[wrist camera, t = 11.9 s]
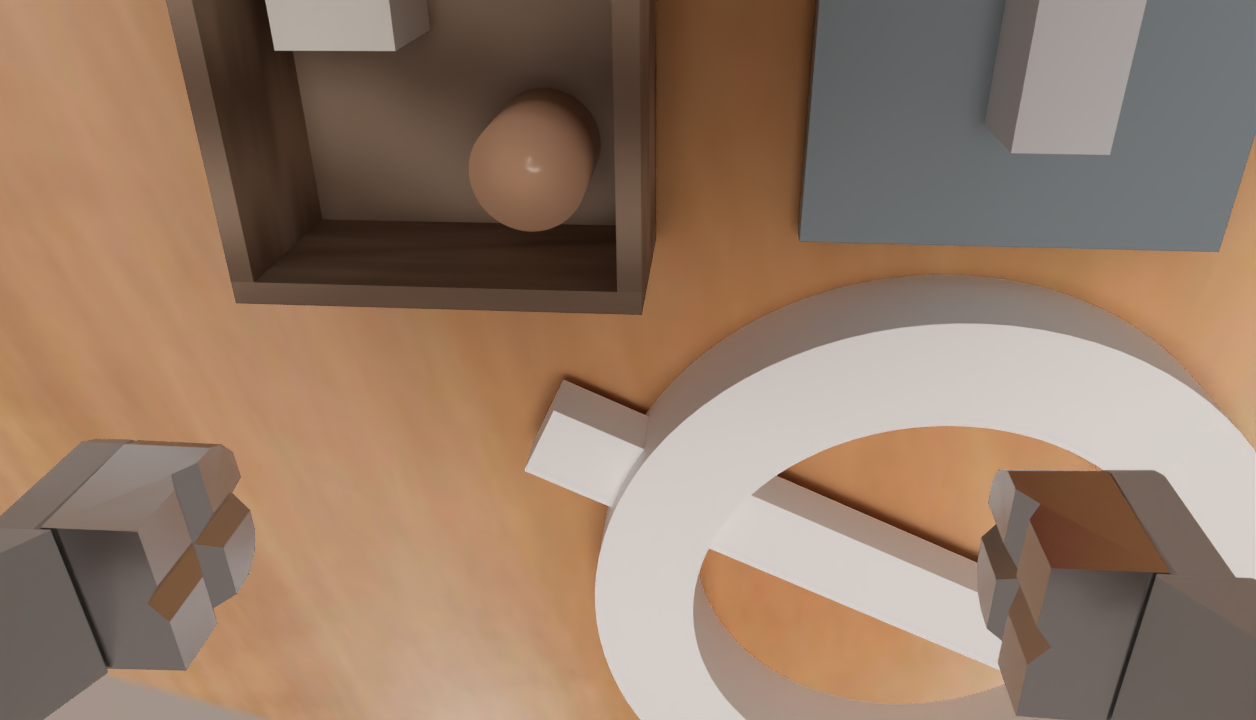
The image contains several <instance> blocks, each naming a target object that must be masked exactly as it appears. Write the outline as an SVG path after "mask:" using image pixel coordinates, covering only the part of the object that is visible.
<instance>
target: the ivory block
mask: <svg viewBox="0 0 1256 720" xmlns="http://www.w3.org/2000/svg"><path fill="white" fill-rule="evenodd" d="M265 2H266V7H267V13H268V18H269V24H270V29H271V34H272V40H273V45H274V51H396V50H398V49H400V48H401V47H403V46H405V45H406V44H408V43H409V42H411V41H413V40H414V39H416V38H418V37H419V36H421V35H423V34H424V33H426V32H427V31H429V30H430V24H429V15H428V6H427V0H265Z"/></svg>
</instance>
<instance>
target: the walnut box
mask: <svg viewBox="0 0 1256 720" xmlns="http://www.w3.org/2000/svg"><path fill="white" fill-rule="evenodd" d="M166 3H167V7H168V12H169V16H170V20H171V24H172V29H173V33H174V37H175V42H176V46H177V50H178V55H179V59H180V63H181V68H182V72H183V76H184V81H185V85H186V89H187V94H188V98H189V102H190V106H191V111H192V115H193V119H194V124H195V128H196V132H197V137H198V141H199V145H200V150H201V154H202V158H203V163H204V167H205V171H206V176H207V180H208V184H209V188H210V193H211V197H212V201H213V206H214V210H215V214H216V219H217V223H218V227H219V232H220V236H221V240H222V245H223V249H224V253H225V258H226V262H227V266H228V270H229V275H230V279H231V283H232V288H233V292H234V296H235V301H236V303H247V304H281V305H316V306H351V307H386V308H421V309H456V310H491V311H525V312H560V313H595V314H630V315H642V311H643V306H644V300H645V295H646V289H647V284H648V279H649V273H650V268H651V262H652V257H653V252H654V246H655V241H656V0H427V6H428V15H429V24H430V30H429V31H427V32H426V33H424V34H423V35H421V36H419V37H418V38H416V39H414V40H413V41H411V42H409V43H408V44H406V45H405V46H403V47H401V48H400V49H398V50H396V51H274V45H273V40H272V34H271V29H270V24H269V18H268V13H267V7H266V2H265V0H166ZM536 88H552V89H557V90H560V91H563V92H566V93H568V94H570V95H572V96H573V97H575V98H576V99H578V100H579V101H580V102H581V103H582V104H584V106H585V107H586V108H587V109H588V110H589V111H590V113H591V114H592V116H593V118H594V120H595V122H596V124H597V127H598V129H599V134H600V141H601V148H600V156H599V159H598V162H597V165H596V168H595V170H594V172H593V175H592V177H591V180H590V182H589V184H588V187H587V189H586V192H585V194H584V197H583V199H582V201H581V203H580V205H579V207H578V208H577V210H576V211H575V212H574V213H573V214H572V216H571V217H569V218H568V219H567V220H566V221H564V222H563V223H561V224H560V225H558V226H556V227H553V228H551V229H547V230H543V231H532V232H530V231H521V230H517V229H514V228H511V227H508V226H506V225H504V224H502V223H500V222H499V221H497V220H495V219H494V218H493V217H492V216H490V215H489V214H488V213H487V212H486V211H485V210H484V208H483V207H482V206H481V205H480V203H479V202H478V200H477V198H476V197H475V194H474V192H473V190H472V187H471V184H470V179H469V159H470V154H471V151H472V149H473V146H474V144H475V142H476V141H477V139H478V137H479V136H480V135H481V134H482V132H483V131H484V130H485V129H486V128H487V127H488V125H489V124H490V123H491V122H492V121H493V120H494V118H495V117H496V116H497V115H498V114H499V113H500V111H501V110H502V109H503V108H504V107H505V106H506V105H507V103H508V102H510V101H511V100H512V99H513V98H514V97H516V96H517V95H519V94H521V93H523V92H525V91H528V90H531V89H536Z"/></svg>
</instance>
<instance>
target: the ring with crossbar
mask: <svg viewBox="0 0 1256 720" xmlns="http://www.w3.org/2000/svg"><path fill="white" fill-rule="evenodd" d="M926 426H968V427H980V428H989V429H996V430H1002V431H1007V432H1012V433H1017V434H1021V435H1025V436H1029V437H1033V438H1036V439H1039V440H1042V441H1045V442H1048V443H1051V444H1054V445H1056V446H1059V447H1061V448H1064V449H1066V450H1068V451H1071V452H1073V453H1075V454H1077V455H1079V456H1081V457H1083V458H1085V459H1086V460H1088V461H1090V462H1091V463H1093V464H1095V465H1096V466H1098V467H1100V468H1101V469H1102V470H1155V471H1157V472H1159V473H1160V474H1162V475H1164V476H1165V477H1166V478H1167V480H1168V481H1169V483H1170V484H1171V486H1172V487H1173V488H1174V490H1175V491H1176V493H1177V494H1178V496H1179V497H1180V498H1181V500H1182V501H1183V503H1184V504H1185V506H1186V507H1187V508H1188V510H1189V511H1190V513H1191V514H1192V516H1193V517H1194V518H1195V520H1196V521H1197V523H1198V524H1199V526H1200V527H1201V528H1202V530H1203V531H1204V533H1205V534H1206V536H1207V537H1208V538H1209V540H1210V541H1211V543H1212V544H1213V546H1214V547H1215V548H1216V550H1217V551H1218V553H1219V554H1220V556H1221V557H1222V558H1223V560H1224V561H1225V563H1226V564H1227V566H1228V567H1229V568H1230V570H1231V571H1232V573H1233V574H1234V576H1235V577H1239V578H1253V579H1255V580H1256V452H1255V450H1254V449H1253V448H1252V447H1251V445H1250V444H1249V443H1248V441H1247V440H1246V439H1245V438H1244V436H1243V435H1242V434H1241V433H1240V431H1239V430H1238V429H1237V428H1236V427H1235V426H1234V425H1233V423H1232V422H1231V421H1230V420H1229V419H1228V418H1227V416H1226V415H1225V414H1224V413H1223V412H1222V411H1221V410H1220V408H1219V407H1218V406H1217V405H1216V404H1215V403H1214V402H1213V400H1212V399H1211V398H1210V397H1209V396H1208V395H1207V394H1206V392H1205V391H1204V390H1203V389H1202V388H1201V387H1200V386H1199V384H1198V383H1197V382H1196V381H1195V380H1194V379H1193V378H1192V376H1191V375H1190V374H1189V373H1188V372H1187V371H1186V370H1185V369H1184V368H1183V367H1182V366H1181V365H1180V363H1179V362H1178V361H1177V360H1176V359H1175V358H1174V357H1172V356H1171V355H1170V354H1169V353H1168V352H1167V351H1166V350H1165V349H1163V348H1162V347H1161V346H1160V345H1159V344H1158V343H1156V342H1155V341H1154V340H1152V339H1151V338H1150V337H1148V336H1147V335H1146V334H1144V333H1143V332H1142V331H1140V330H1138V329H1137V328H1135V327H1134V326H1132V325H1131V324H1129V323H1127V322H1126V321H1124V320H1123V319H1121V318H1119V317H1117V316H1115V315H1113V314H1111V313H1109V312H1107V311H1105V310H1104V309H1102V308H1099V307H1097V306H1095V305H1092V304H1090V303H1088V302H1086V301H1083V300H1081V299H1078V298H1075V297H1072V296H1070V295H1067V294H1064V293H1061V292H1058V291H1055V290H1051V289H1048V288H1044V287H1040V286H1037V285H1033V284H1028V283H1023V282H1018V281H1013V280H1007V279H1000V278H993V277H985V276H972V275H947V274H931V275H913V276H902V277H893V278H885V279H878V280H873V281H867V282H862V283H856V284H852V285H848V286H844V287H840V288H836V289H832V290H829V291H826V292H822V293H819V294H816V295H813V296H810V297H807V298H804V299H802V300H799V301H796V302H794V303H791V304H788V305H786V306H784V307H781V308H779V309H777V310H775V311H773V312H771V313H768V314H766V315H764V316H762V317H760V318H758V319H756V320H755V321H753V322H751V323H749V324H747V325H745V326H743V327H742V328H740V329H739V330H737V331H735V332H734V333H732V334H731V335H729V336H727V337H726V338H724V339H723V340H721V341H720V342H719V343H717V344H716V345H714V346H713V347H712V348H710V349H709V350H707V351H706V352H705V353H704V354H702V355H701V356H700V357H699V358H698V359H696V360H695V361H694V362H693V363H692V364H690V365H689V366H688V367H687V368H686V369H685V370H684V371H683V372H682V373H681V374H680V375H679V376H678V377H677V378H676V379H674V380H673V382H672V383H671V384H670V385H669V386H668V387H667V388H666V389H665V390H664V392H663V393H662V394H661V395H660V396H659V397H658V399H657V400H656V401H655V402H654V404H653V405H652V406H651V408H650V409H649V410H648V412H647V413H646V415H644V414H642V413H639V412H637V411H635V410H633V409H630V408H628V407H626V406H623V405H621V404H619V403H616V402H614V401H612V400H609V399H607V398H605V397H603V396H600V395H598V394H596V393H593V392H591V391H589V390H586V389H584V388H582V387H580V386H577V385H575V384H573V383H570V382H568V381H566V380H563V381H562V383H561V385H560V387H559V389H558V391H557V394H556V396H555V398H554V400H553V402H552V404H551V406H550V408H549V410H548V412H547V414H546V416H545V418H544V420H543V422H542V424H541V426H540V429H539V431H538V433H537V435H536V437H535V439H534V442H533V445H532V448H531V452H530V455H529V458H528V461H527V464H526V467H525V470H524V471H526V472H528V473H531V474H533V475H535V476H538V477H540V478H543V479H545V480H547V481H550V482H552V483H554V484H557V485H559V486H562V487H564V488H566V489H569V490H571V491H574V492H576V493H578V494H581V495H583V496H585V497H588V498H590V499H593V500H595V501H597V502H600V503H602V504H605V505H607V506H608V510H607V516H606V521H605V527H604V532H603V538H602V543H601V549H600V554H599V560H598V566H597V572H596V584H595V609H596V618H597V626H598V631H599V636H600V641H601V644H602V648H603V651H604V654H605V658H606V660H607V663H608V665H609V668H610V670H611V673H612V675H613V677H614V679H615V681H616V683H617V685H618V687H619V689H620V690H621V692H622V694H623V695H624V697H625V699H626V700H627V702H628V703H629V705H630V706H631V708H632V709H633V711H634V712H635V713H636V715H637V716H638V717H639V718H640V720H1060V719H1048V718H1035V717H1023V716H1016V715H1015V712H1014V709H1013V706H1012V703H1011V700H1010V697H1009V694H1008V691H1007V688H1006V686H1005V684H1004V685H1001V686H998V687H995V688H992V689H990V690H986V691H983V692H980V693H976V694H972V695H968V696H964V697H959V698H954V699H949V700H942V701H935V702H925V703H877V702H867V701H860V700H854V699H849V698H844V697H839V696H835V695H831V694H827V693H824V692H821V691H818V690H815V689H812V688H809V687H807V686H804V685H802V684H799V683H797V682H795V681H792V680H790V679H788V678H786V677H784V676H782V675H781V674H779V673H777V672H775V671H774V670H772V669H770V668H769V667H767V666H766V665H764V664H763V663H761V662H760V661H758V660H757V659H756V658H755V657H753V656H752V655H751V654H750V653H748V652H747V651H746V650H745V649H744V648H743V647H742V646H741V645H740V644H739V643H738V642H737V641H736V640H735V639H734V638H733V637H732V636H731V635H730V634H729V633H728V631H727V630H726V629H725V628H724V626H723V625H722V624H721V622H720V621H719V619H718V618H717V616H716V614H715V613H714V611H713V609H712V607H711V605H710V604H709V602H708V599H707V597H706V595H705V592H704V589H703V586H702V583H701V580H700V576H699V572H700V569H701V565H702V563H703V560H704V558H705V556H706V554H707V551H708V549H712V550H714V551H717V552H719V553H721V554H724V555H726V556H729V557H731V558H733V559H736V560H738V561H740V562H743V563H745V564H748V565H750V566H752V567H755V568H757V569H760V570H762V571H764V572H767V573H769V574H771V575H774V576H776V577H779V578H781V579H783V580H786V581H788V582H791V583H793V584H795V585H798V586H800V587H802V588H805V589H807V590H810V591H812V592H814V593H817V594H819V595H822V596H824V597H826V598H829V599H831V600H833V601H836V602H838V603H841V604H843V605H845V606H848V607H850V608H853V609H855V610H857V611H860V612H862V613H864V614H867V615H869V616H872V617H874V618H876V619H879V620H881V621H884V622H886V623H888V624H891V625H893V626H895V627H898V628H900V629H903V630H905V631H907V632H910V633H912V634H915V635H917V636H919V637H922V638H924V639H926V640H929V641H931V642H934V643H936V644H938V645H941V646H943V647H946V648H948V649H950V650H953V651H955V652H957V653H960V654H962V655H965V656H967V657H969V658H972V659H974V660H977V661H979V662H981V663H984V664H986V665H988V666H991V667H993V668H996V669H998V670H1000V668H999V665H998V658H999V654H1000V649H1001V644H1002V641H1001V640H1000V639H999V638H998V637H996V636H995V635H994V634H993V633H992V632H990V631H989V630H988V629H987V628H986V625H985V622H984V618H983V615H982V612H981V608H980V602H979V596H978V590H977V562H974V561H972V560H970V559H967V558H965V557H963V556H961V555H958V554H956V553H954V552H951V551H949V550H947V549H944V548H942V547H940V546H938V545H935V544H933V543H931V542H928V541H926V540H924V539H921V538H919V537H917V536H914V535H912V534H910V533H908V532H905V531H903V530H901V529H898V528H896V527H894V526H891V525H889V524H887V523H885V522H882V521H880V520H878V519H875V518H873V517H871V516H868V515H866V514H864V513H861V512H859V511H857V510H855V509H852V508H850V507H848V506H845V505H843V504H841V503H838V502H836V501H834V500H831V499H829V498H827V497H825V496H822V495H820V494H818V493H815V492H813V491H811V490H808V489H806V488H804V487H802V486H799V485H797V484H795V483H792V482H790V481H788V480H785V479H783V478H781V477H778V476H776V475H778V474H780V473H781V472H783V471H784V470H786V469H787V468H789V467H791V466H793V465H794V464H796V463H798V462H800V461H802V460H804V459H806V458H808V457H810V456H812V455H814V454H816V453H818V452H821V451H823V450H826V449H828V448H831V447H833V446H836V445H839V444H842V443H845V442H848V441H851V440H854V439H857V438H861V437H865V436H869V435H872V434H877V433H882V432H887V431H892V430H899V429H906V428H915V427H926Z"/></svg>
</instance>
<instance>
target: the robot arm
mask: <svg viewBox="0 0 1256 720" xmlns="http://www.w3.org/2000/svg"><path fill="white" fill-rule="evenodd" d="M240 478H241V476H240V473H239V470H238V466H237V463H236V460H235V457H234V454H233V452H232V451H230V450H229V449H227V448H226V447H224V446H223V445H222V444H203V443H184V442H165V441H145V440H138V441H134V440H124V439H93V440H88V441H84V442H81V443H80V444H79V445H78V446H77V447H75V448H74V449H73V450H72V451H71V452H70V453H69V454H68V455H67V456H66V457H64V458H63V459H62V460H61V461H60V462H59V463H58V464H57V465H56V466H55V467H54V468H52V469H51V470H50V471H49V472H48V473H47V474H46V475H45V476H44V477H43V478H42V479H40V480H39V481H38V482H37V483H36V484H35V485H34V486H33V487H32V488H31V489H30V490H28V491H27V492H26V493H25V494H24V495H23V496H22V497H21V498H20V499H19V500H17V501H16V502H15V503H14V504H13V505H12V506H11V507H10V508H9V509H8V510H7V511H5V512H4V513H3V514H2V515H1V516H0V720H43V719H45V718H46V717H47V716H49V715H50V714H52V713H53V712H54V711H56V710H57V709H58V708H60V707H61V706H62V705H64V704H65V703H67V702H68V701H69V700H71V699H72V698H74V697H75V696H76V695H78V694H79V693H80V692H82V691H83V690H85V689H86V688H87V687H89V686H90V685H92V684H93V683H94V682H96V681H97V680H98V679H100V678H101V677H103V676H104V675H105V674H107V672H108V670H107V669H146V670H185V671H186V670H187V669H188V667H189V666H190V664H191V663H192V661H193V660H194V658H195V657H196V655H197V654H198V652H199V651H200V649H201V648H202V646H203V645H204V643H205V641H206V640H207V638H208V637H209V635H210V634H211V632H212V631H213V629H214V628H215V626H216V625H217V621H216V617H215V613H214V609H213V608H214V607H216V606H218V605H219V604H221V603H223V602H224V601H226V600H227V599H229V598H231V597H232V596H234V595H236V594H237V593H238V591H239V589H240V588H241V586H242V585H243V583H244V581H245V580H246V578H247V576H248V575H249V571H250V568H251V564H252V560H253V556H254V552H255V528H254V524H253V520H252V516H251V512H250V510H249V509H248V508H247V507H246V506H245V505H244V504H243V503H242V502H241V501H240V500H239V499H238V498H237V497H236V496H235V495H234V494H233V493H232V492H233V491H234V489H235V487H236V485H237V483H238V482H239V480H240ZM988 504H989V506H990V509H991V511H992V514H993V517H994V519H995V522H996V525H995V526H994V527H993V528H992V529H990V530H989V531H988V532H987V533H986V534H985V535H984V536H983V537H981V543H980V550H979V556H978V563H977V590H978V596H979V602H980V608H981V612H982V615H983V618H984V622H985V625H986V628H987V629H988V630H989V631H990V632H992V633H993V634H994V635H995V636H996V637H998V638H999V639H1000V640H1001V641H1002V644H1001V649H1000V654H999V658H998V665H999V668H1000V671H1001V674H1002V677H1003V680H1004V683H1005V686H1006V688H1007V691H1008V694H1009V697H1010V700H1011V703H1012V706H1013V709H1014V712H1015V715H1016V716H1023V717H1035V718H1048V719H1060V720H1256V580H1255V579H1253V578H1239V577H1235V576H1234V574H1233V573H1232V571H1231V570H1230V568H1229V567H1228V566H1227V564H1226V563H1225V561H1224V560H1223V558H1222V557H1221V556H1220V554H1219V553H1218V551H1217V550H1216V548H1215V547H1214V546H1213V544H1212V543H1211V541H1210V540H1209V538H1208V537H1207V536H1206V534H1205V533H1204V531H1203V530H1202V528H1201V527H1200V526H1199V524H1198V523H1197V521H1196V520H1195V518H1194V517H1193V516H1192V514H1191V513H1190V511H1189V510H1188V508H1187V507H1186V506H1185V504H1184V503H1183V501H1182V500H1181V498H1180V497H1179V496H1178V494H1177V493H1176V491H1175V490H1174V488H1173V487H1172V486H1171V484H1170V483H1169V481H1168V480H1167V478H1166V477H1165V476H1164V475H1162V474H1160V473H1159V472H1157V471H1155V470H1102V471H1060V470H998V471H997V473H996V475H995V478H994V480H993V482H992V486H991V491H990V496H989V501H988Z"/></svg>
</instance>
